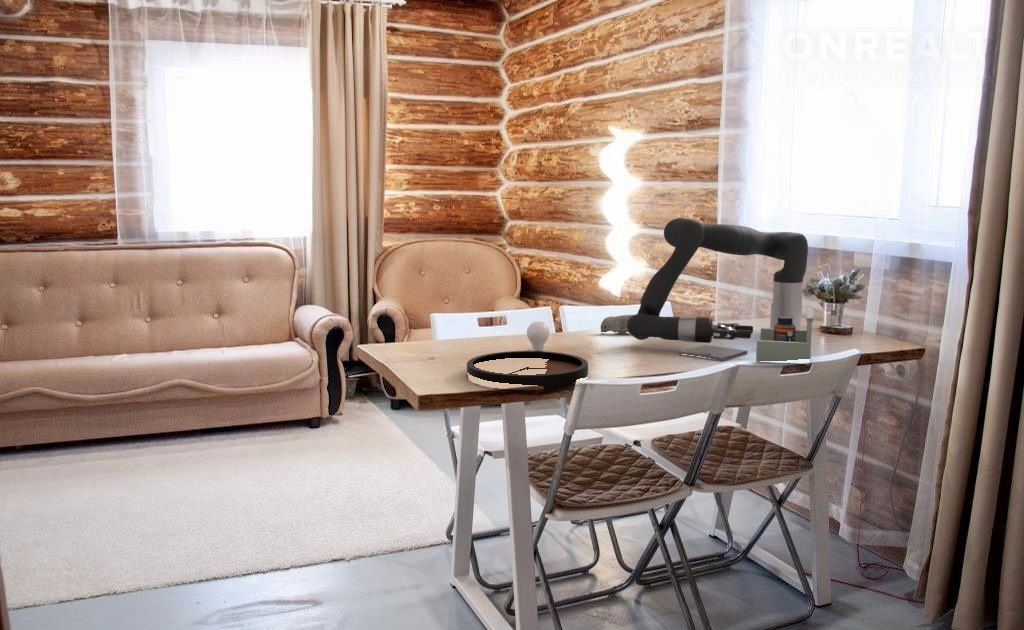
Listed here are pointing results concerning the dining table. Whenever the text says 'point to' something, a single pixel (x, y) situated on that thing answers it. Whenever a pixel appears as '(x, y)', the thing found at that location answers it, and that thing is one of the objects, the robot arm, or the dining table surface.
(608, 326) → the decorative bird
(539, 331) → the lightbulb
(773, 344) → the sage green open tray
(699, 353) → the slate tile
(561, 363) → the wall clock
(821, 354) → the dining table surface
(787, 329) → the supplement bottle
